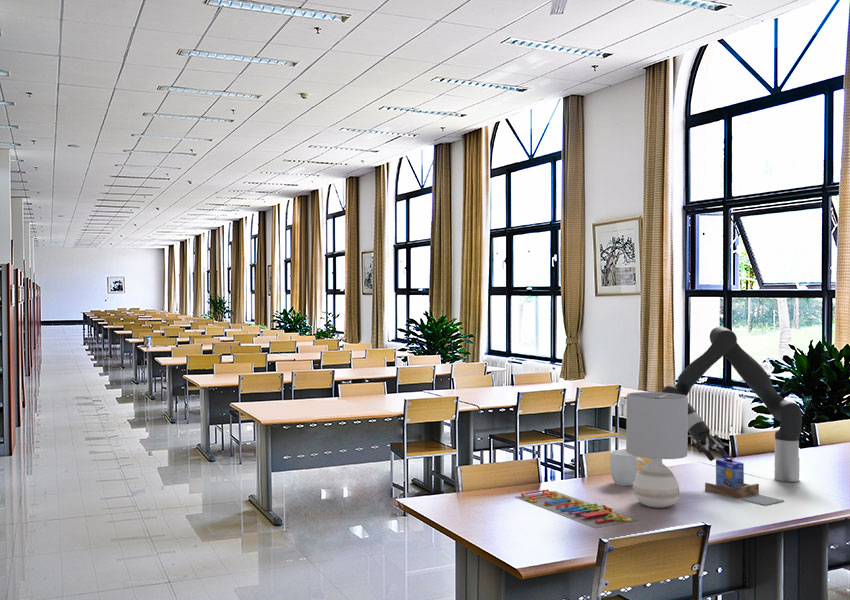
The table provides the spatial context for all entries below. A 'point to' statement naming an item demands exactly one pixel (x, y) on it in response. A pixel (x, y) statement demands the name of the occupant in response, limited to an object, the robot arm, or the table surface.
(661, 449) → the lamp
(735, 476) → the ink cartridge box
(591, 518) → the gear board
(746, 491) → the frame
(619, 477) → the mug
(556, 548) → the table surface
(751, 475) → the table surface
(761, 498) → the pad
